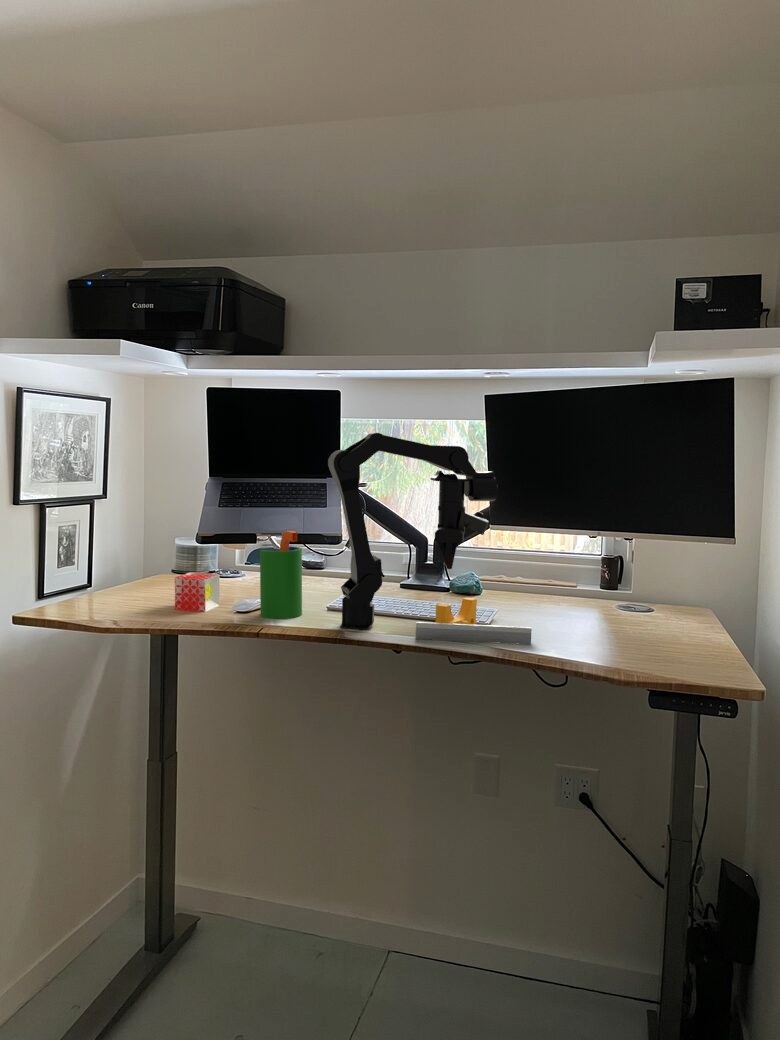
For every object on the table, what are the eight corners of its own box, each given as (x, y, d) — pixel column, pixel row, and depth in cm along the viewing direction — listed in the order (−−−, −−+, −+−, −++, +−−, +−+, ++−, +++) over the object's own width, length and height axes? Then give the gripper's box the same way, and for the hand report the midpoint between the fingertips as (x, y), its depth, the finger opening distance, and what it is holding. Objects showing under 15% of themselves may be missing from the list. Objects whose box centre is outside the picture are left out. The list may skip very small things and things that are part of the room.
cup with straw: (276, 608, 194) (277, 527, 192) (309, 612, 191) (310, 529, 189) (255, 616, 185) (255, 531, 183) (289, 620, 182) (290, 533, 180)
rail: (415, 638, 167) (416, 622, 167) (416, 636, 169) (416, 620, 169) (530, 644, 165) (531, 628, 164) (530, 642, 167) (531, 626, 166)
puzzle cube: (205, 612, 189) (205, 579, 188) (174, 610, 190) (174, 577, 190) (219, 605, 197) (219, 574, 196) (190, 603, 198) (190, 572, 197)
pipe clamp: (451, 637, 170) (452, 607, 170) (435, 634, 173) (435, 604, 172) (482, 628, 179) (483, 600, 179) (466, 625, 182) (467, 597, 181)
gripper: (487, 505, 171) (484, 577, 172) (486, 499, 189) (484, 564, 191) (435, 503, 172) (433, 575, 173) (440, 497, 190) (438, 562, 192)
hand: (449, 568), depth 182 cm, fingers closed
